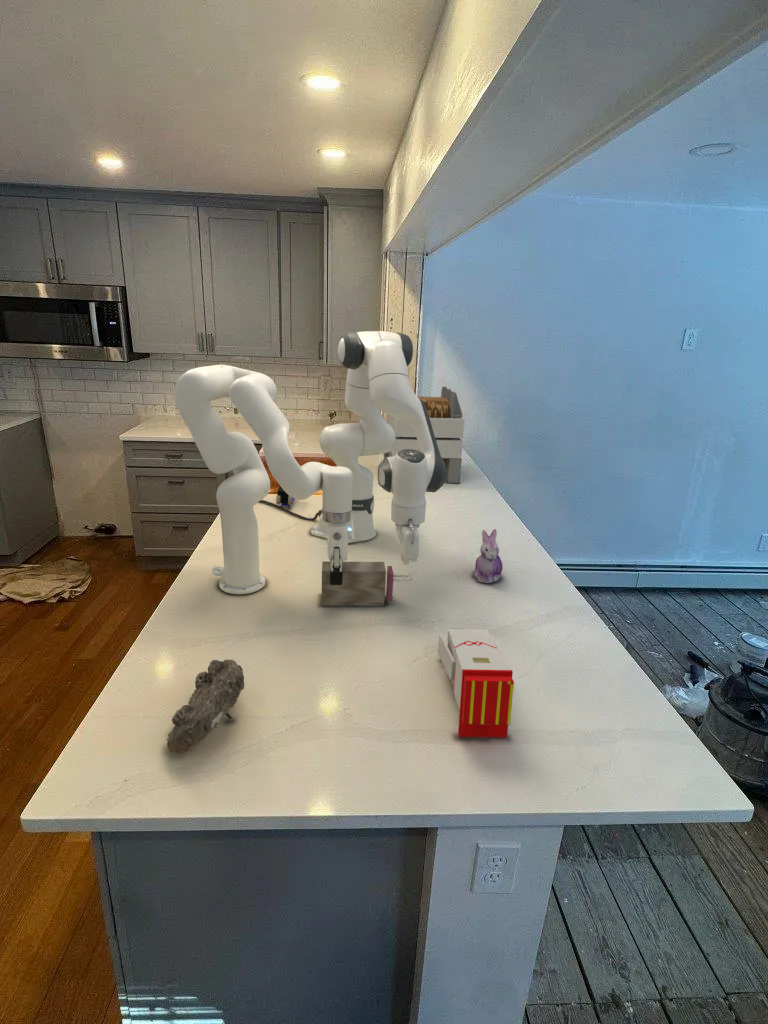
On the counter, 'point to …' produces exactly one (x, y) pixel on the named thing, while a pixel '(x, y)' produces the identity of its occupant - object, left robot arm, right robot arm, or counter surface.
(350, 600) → the cabinet
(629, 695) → the counter surface
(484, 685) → the toy
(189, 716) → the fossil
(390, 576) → the drawer
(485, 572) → the figurine
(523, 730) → the counter surface
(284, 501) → the figurine character
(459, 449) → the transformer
